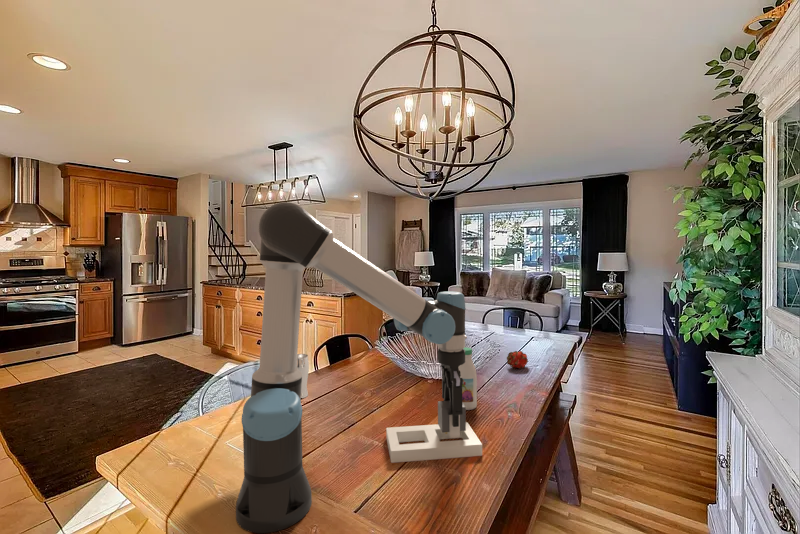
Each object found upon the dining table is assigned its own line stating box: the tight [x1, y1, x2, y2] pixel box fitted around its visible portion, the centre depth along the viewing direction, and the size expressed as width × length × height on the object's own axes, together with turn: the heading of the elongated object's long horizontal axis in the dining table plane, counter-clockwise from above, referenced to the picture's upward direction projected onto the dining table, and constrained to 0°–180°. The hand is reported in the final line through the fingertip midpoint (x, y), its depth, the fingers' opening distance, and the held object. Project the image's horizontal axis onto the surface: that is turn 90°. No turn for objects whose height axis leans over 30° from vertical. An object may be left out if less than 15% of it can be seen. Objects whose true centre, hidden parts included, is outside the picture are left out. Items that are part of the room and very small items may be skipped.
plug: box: [437, 400, 467, 434], centre depth 106 cm, size 5×6×8 cm
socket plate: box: [385, 421, 483, 463], centre depth 106 cm, size 13×24×3 cm, turn 97°
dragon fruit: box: [506, 350, 529, 370], centre depth 174 cm, size 8×8×12 cm
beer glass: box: [296, 353, 310, 399], centre depth 143 cm, size 7×7×15 cm
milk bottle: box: [458, 346, 478, 411], centre depth 132 cm, size 8×8×20 cm
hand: (451, 431), depth 106 cm, fingers closed on plug, 5 cm apart
